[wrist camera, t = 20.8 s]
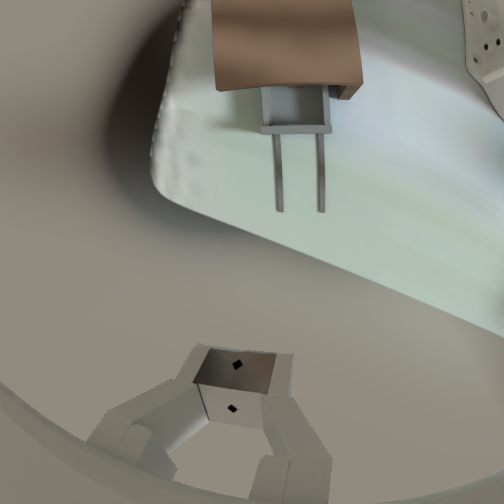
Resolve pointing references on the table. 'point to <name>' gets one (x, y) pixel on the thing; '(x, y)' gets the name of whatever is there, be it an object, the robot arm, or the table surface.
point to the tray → (296, 110)
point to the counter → (286, 52)
